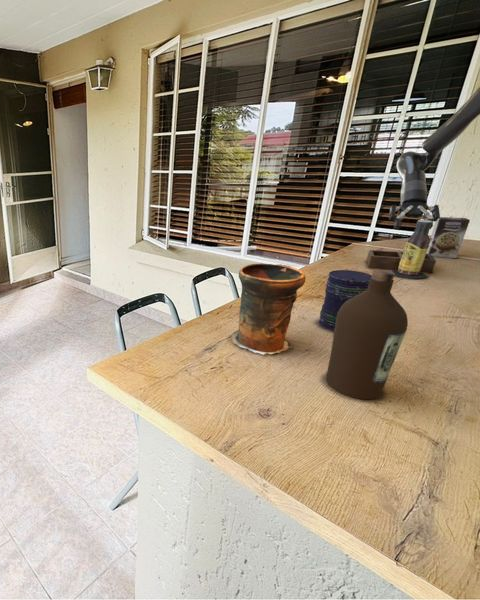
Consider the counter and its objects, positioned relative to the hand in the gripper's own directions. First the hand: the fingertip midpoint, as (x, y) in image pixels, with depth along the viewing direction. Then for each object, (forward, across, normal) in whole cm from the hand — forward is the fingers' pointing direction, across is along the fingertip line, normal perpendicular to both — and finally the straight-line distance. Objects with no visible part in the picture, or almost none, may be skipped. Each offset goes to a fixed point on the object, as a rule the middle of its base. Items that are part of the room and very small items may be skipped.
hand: (413, 228), depth 133 cm
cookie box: (-7, +18, +29) cm, 35 cm away
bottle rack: (+10, -1, +13) cm, 16 cm away
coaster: (+18, 0, +5) cm, 18 cm away
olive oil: (+80, -28, -58) cm, 103 cm away
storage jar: (+58, -27, -36) cm, 74 cm away
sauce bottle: (+17, 0, +5) cm, 18 cm away
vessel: (+72, -46, -49) cm, 98 cm away
